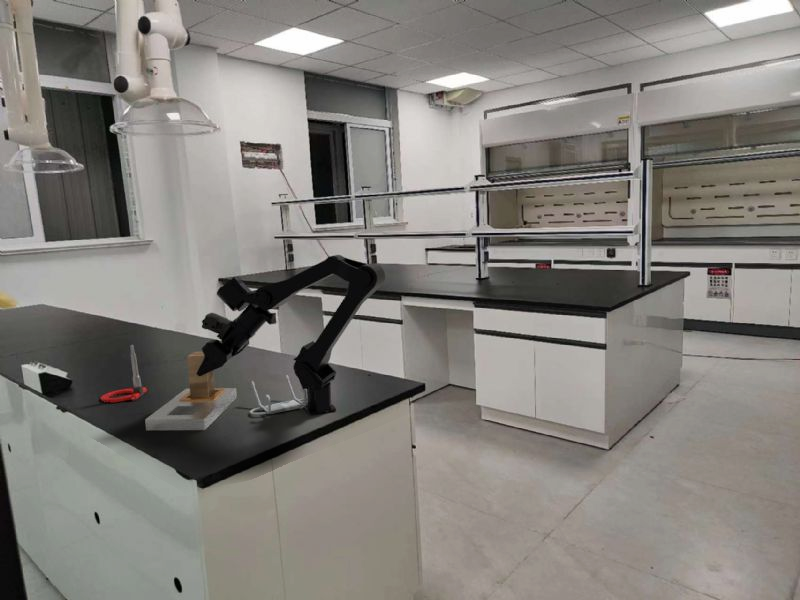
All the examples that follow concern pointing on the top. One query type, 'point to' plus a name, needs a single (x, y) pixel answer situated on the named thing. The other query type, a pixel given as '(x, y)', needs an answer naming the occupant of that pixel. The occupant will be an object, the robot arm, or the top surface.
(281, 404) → the wall mount rack
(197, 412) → the grey peg hole board
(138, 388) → the tow hook
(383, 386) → the top surface
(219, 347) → the robot arm
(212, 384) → the peg
